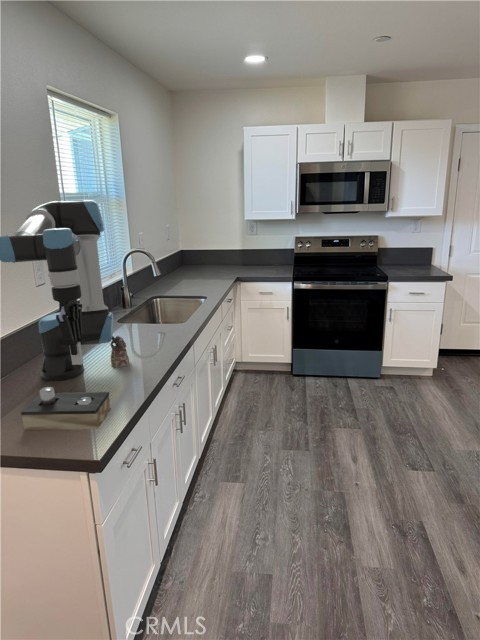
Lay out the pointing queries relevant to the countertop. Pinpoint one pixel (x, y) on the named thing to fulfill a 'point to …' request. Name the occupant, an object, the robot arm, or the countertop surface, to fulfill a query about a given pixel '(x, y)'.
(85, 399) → the steel peg
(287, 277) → the countertop surface
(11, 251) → the robot arm
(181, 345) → the countertop surface
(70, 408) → the block
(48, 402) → the steel peg
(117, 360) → the figurine
